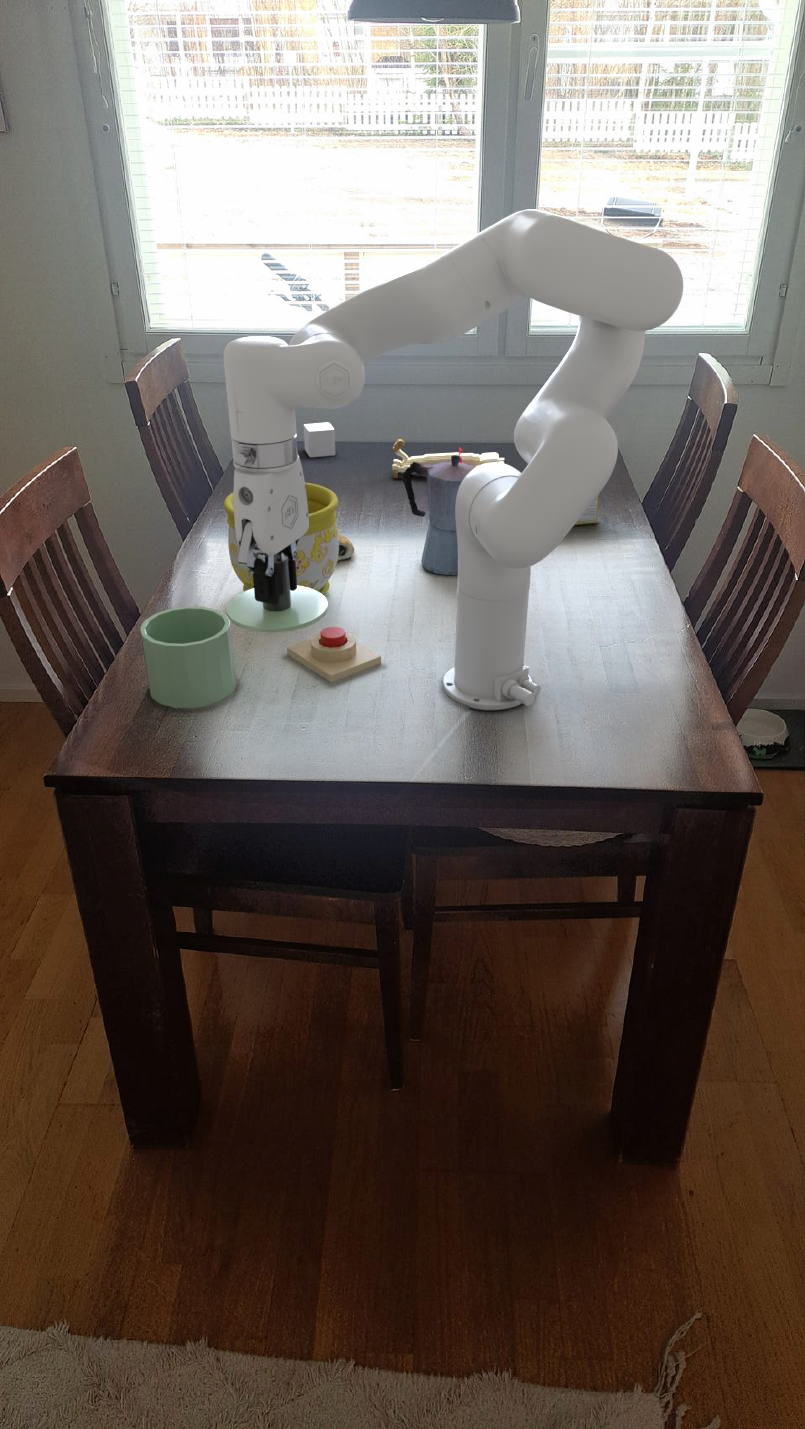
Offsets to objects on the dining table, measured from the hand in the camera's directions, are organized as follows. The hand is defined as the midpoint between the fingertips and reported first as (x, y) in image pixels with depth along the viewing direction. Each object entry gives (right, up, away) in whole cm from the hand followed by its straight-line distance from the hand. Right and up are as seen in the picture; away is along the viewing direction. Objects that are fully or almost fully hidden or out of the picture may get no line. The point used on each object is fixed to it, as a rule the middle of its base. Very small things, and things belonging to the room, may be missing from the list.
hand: (276, 593), depth 126 cm
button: (+6, -5, +20) cm, 21 cm away
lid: (0, -2, +1) cm, 2 cm away
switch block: (+6, -7, +21) cm, 23 cm away
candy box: (+46, +21, +69) cm, 85 cm away
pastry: (+3, +14, +56) cm, 58 cm away
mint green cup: (-13, -12, +14) cm, 23 cm away
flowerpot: (-3, +5, +42) cm, 42 cm away
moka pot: (+23, +11, +52) cm, 58 cm away
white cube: (-3, +46, +108) cm, 117 cm away
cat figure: (+26, +37, +94) cm, 104 cm away
